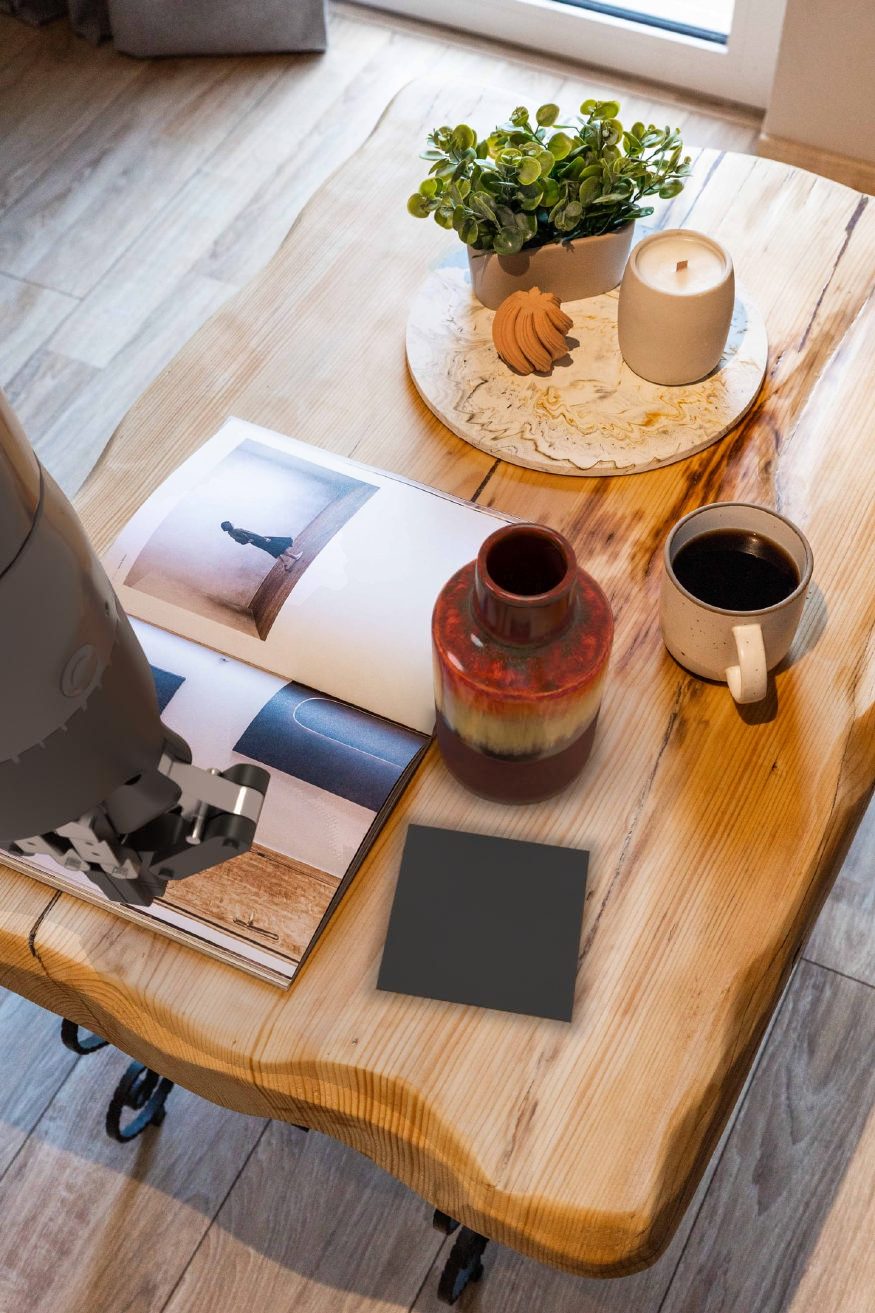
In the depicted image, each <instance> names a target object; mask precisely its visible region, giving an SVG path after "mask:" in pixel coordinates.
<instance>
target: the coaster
mask: <svg viewBox="0 0 875 1313" xmlns="http://www.w3.org/2000/svg"><path fill="white" fill-rule="evenodd" d="M590 853H591V851H590V850H586V849H578V848H574V847H573V848H572V847H566V846H559V845H553V844H546V843H540V842H534V841H527V840H521V839H513V838H508V837H507V838H506V837H500V836H493V835H487V834H481V833H473V832H468V831H460V830H454V829H448V828H441V827H435V826H429V825H422V824H415V823H408V827H407V831H406V836H405V842H404V847H403V851H402V857H401V862H400V866H399V870H398V876H397V881H396V886H395V891H394V896H393V902H392V906H391V912H390V916H389V922H388V926H387V932H386V937H385V942H384V946H383V952H382V955H381V961H380V966H379V971H378V975H377V976H378V977H377V981H376V987H375V990H380V991H387V992H391V993H398V994H404V995H409V996H415V997H422V998H425V999H426V998H427V999H431V1000H432V999H433V1000H439V1001H444V1002H451V1003H456V1004H462V1005H468V1006H473V1007H479V1008H485V1009H490V1010H491V1009H492V1010H497V1011H502V1012H503V1011H504V1012H509V1013H514V1014H519V1015H520V1014H521V1015H527V1016H531V1017H532V1016H533V1017H539V1018H545V1019H550V1020H555V1021H560V1022H561V1021H562V1022H568V1023H572V1017H573V1007H574V999H575V989H576V981H577V972H578V963H579V961H578V960H579V954H580V953H579V952H580V945H581V936H582V926H583V917H584V908H585V898H586V888H587V879H588V872H589V871H588V870H589V864H590V863H589V861H590Z"/></svg>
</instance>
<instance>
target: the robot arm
mask: <svg viewBox="0 0 875 1313" xmlns="http://www.w3.org/2000/svg"><path fill="white" fill-rule="evenodd" d="M271 778H272V776H271V773H270V772H269V771H268V770H266V769H265V768H263V767H261V766H259V765H256V764H251V763H245V762H244V763H242V762H240V763H236V764H234V765H232V766H230V767H229V768H226V769H225V770H223V771H221V770H220V769H219V768H216V767H208V768H207V769H203V768H200V767H198V766H196V765H193V752H192V749H191V747H190V745H189V743H188V742H187V741H186V740H185V738H183V736H182V735H180V734H179V733H177V732H176V731H174V730H172V728H170V727H169V726H168V725H167V724H165V722H163V720H162V719H161V713H160V708H159V701H158V695H157V688H156V684H155V679H154V674H153V671H152V667H151V665H150V662H149V659H148V657H147V655H146V652H145V651H144V648H143V647H142V644H141V643H140V640H139V638H138V636H137V635H136V631H135V630H134V628H133V626H132V624H131V621H130V620H129V618H128V615H127V613H126V612H125V610H124V607H123V605H122V603H121V602H120V599H119V597H118V595H117V593H116V591H115V589H114V587H113V584H112V582H111V580H110V579H109V576H108V574H107V572H106V570H105V568H104V566H103V563H102V562H101V559H100V557H99V555H98V553H97V551H96V549H95V547H94V545H93V543H92V541H91V539H90V536H89V534H88V533H87V531H86V528H85V526H84V524H83V523H82V520H81V519H80V517H79V515H78V513H77V511H76V509H75V508H74V506H73V504H72V503H71V501H70V500H69V499H68V497H67V495H66V494H65V493H64V491H63V490H62V488H61V487H60V485H59V484H58V482H57V481H56V480H55V479H54V477H53V476H52V474H50V472H49V471H48V470H47V468H46V467H45V466H44V464H43V463H42V462H41V460H40V458H39V457H38V454H36V451H35V450H34V448H33V446H32V444H31V441H30V440H29V438H28V436H27V434H26V432H25V430H24V428H23V425H22V424H21V421H20V420H19V418H18V416H17V414H16V412H15V409H14V407H13V406H12V403H11V402H10V400H9V397H8V395H7V393H6V391H5V389H4V387H3V386H2V383H1V382H0V849H1V850H4V851H5V852H7V853H8V854H10V855H11V856H13V857H18V858H19V857H20V858H21V857H34V856H35V855H36V854H38V855H45V856H46V855H47V856H49V857H50V858H51V859H52V860H53V861H55V863H57V864H58V865H60V866H61V867H63V868H64V869H65V870H68V871H71V872H82V873H83V874H84V875H85V876H86V878H87V879H88V880H89V881H90V882H91V883H93V884H94V885H96V886H97V887H98V888H99V889H100V890H101V892H102V893H103V894H104V895H105V896H106V898H107V899H108V900H109V901H110V902H114V903H121V904H126V905H133V906H139V907H145V908H150V907H151V906H152V905H153V903H154V901H155V898H156V897H157V898H164V896H165V894H166V891H167V888H168V885H169V882H171V881H183V880H185V879H188V878H190V877H193V876H195V875H197V874H199V873H202V872H204V871H206V870H208V869H211V868H214V867H215V866H218V865H220V864H222V863H223V864H224V863H225V862H227V861H230V860H233V859H234V858H236V857H239V856H242V855H244V854H247V853H249V852H250V851H251V850H252V846H253V843H254V839H255V836H256V832H257V828H258V825H259V822H260V818H261V813H262V810H263V808H264V807H263V806H264V803H265V799H266V795H267V792H268V789H269V788H268V787H269V784H270V781H271Z"/></svg>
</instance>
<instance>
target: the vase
mask: <svg viewBox="0 0 875 1313" xmlns="http://www.w3.org/2000/svg"><path fill="white" fill-rule="evenodd" d="M577 559H578V558H577V556H576V551H575V550H574V547H573V545H572V544H571V542H570V541H569V540H568V539H567V538H566V536H564V535H563V534H562V533H560V532H559V531H558V530H556V529H554V528H552V527H550V526H547V525H544V524H541V523H536V522H530V521H529V522H528V521H527V522H516V523H511V524H508V525H505V526H502V527H499V528H498V529H496V530H495V531H493V532H492V533H491V534H490V535H488V536H487V538H485V539H484V541H483V542H482V543H481V546H480V547H479V550H478V553H477V556H476V558H474V559H472V560H471V561H469V562H468V563H466V564H464V565H463V566H462V567H460V568H459V569H458V570H457V571H455V572H454V573H453V574H452V575H451V577H450V578H448V580H447V581H445V583H444V584H443V586H442V588H441V590H440V591H439V593H438V595H437V596H436V599H435V602H434V605H433V608H432V614H431V619H430V636H431V637H430V638H431V639H430V640H431V658H432V659H431V660H432V661H431V662H432V675H433V676H432V678H433V694H434V696H433V697H434V710H435V711H434V713H435V729H436V740H437V745H438V746H437V747H438V750H439V753H440V756H441V759H442V761H443V763H444V765H445V766H446V768H447V770H448V772H449V773H450V774H451V776H453V778H454V779H455V780H456V781H457V782H458V783H459V784H460V785H461V786H462V787H463V788H464V789H466V790H468V791H469V792H470V793H472V794H474V795H475V796H476V797H480V798H482V799H485V800H486V801H490V802H493V803H496V804H502V805H509V806H525V805H531V804H537V803H539V802H543V801H546V800H549V799H552V798H553V797H555V796H557V795H559V794H561V793H562V792H564V791H565V790H566V789H568V788H569V787H571V785H572V784H573V783H574V782H575V781H577V779H578V777H579V776H580V775H581V773H582V772H583V771H584V769H585V767H586V765H587V763H588V762H589V759H590V756H591V752H592V748H593V745H594V741H595V736H596V731H597V726H598V721H599V716H600V711H601V707H602V701H603V696H604V693H605V692H604V691H605V688H606V687H605V686H606V682H607V678H608V677H607V676H608V672H609V668H610V667H609V666H610V662H611V658H612V651H613V647H614V640H615V619H614V613H613V610H612V606H611V603H610V601H609V599H608V597H607V595H606V593H605V591H604V589H603V588H602V587H601V585H600V584H599V583H598V581H597V580H596V579H595V578H594V577H593V576H592V575H591V574H590V573H589V572H588V571H587V570H586V569H584V568H582V567H581V566H580V565H578V561H577Z"/></svg>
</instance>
